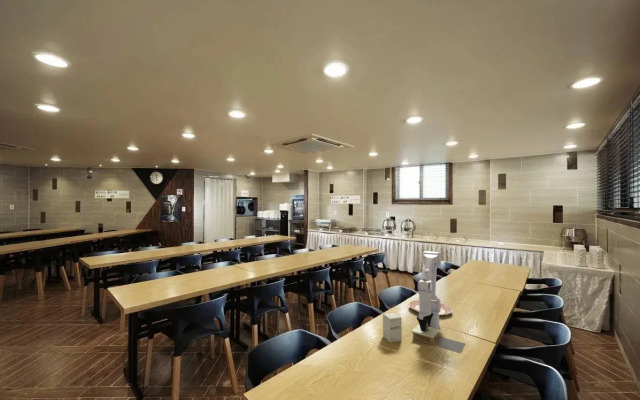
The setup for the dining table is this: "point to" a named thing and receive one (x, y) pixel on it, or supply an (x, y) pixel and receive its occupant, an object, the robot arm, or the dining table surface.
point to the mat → (450, 344)
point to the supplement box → (392, 327)
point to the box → (425, 338)
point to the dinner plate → (443, 311)
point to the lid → (428, 333)
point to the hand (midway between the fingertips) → (425, 328)
